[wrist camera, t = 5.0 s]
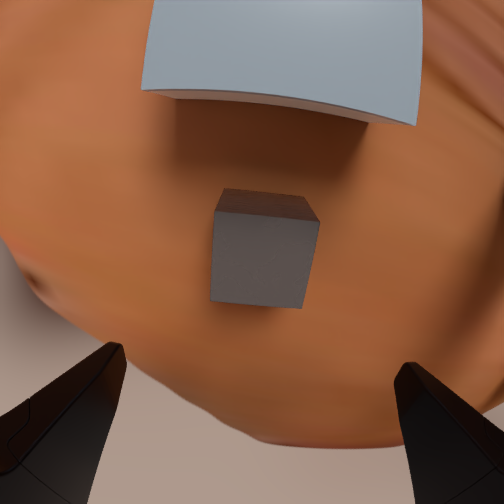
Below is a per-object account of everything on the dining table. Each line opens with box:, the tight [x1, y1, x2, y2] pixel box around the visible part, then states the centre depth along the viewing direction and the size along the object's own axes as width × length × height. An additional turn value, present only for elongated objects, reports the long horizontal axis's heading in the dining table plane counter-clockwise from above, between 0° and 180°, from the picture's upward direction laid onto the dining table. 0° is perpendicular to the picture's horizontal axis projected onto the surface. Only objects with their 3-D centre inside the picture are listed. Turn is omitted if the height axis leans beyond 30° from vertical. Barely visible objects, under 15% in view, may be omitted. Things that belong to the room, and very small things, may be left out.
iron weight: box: [210, 188, 320, 309], centre depth 17 cm, size 5×5×5 cm
